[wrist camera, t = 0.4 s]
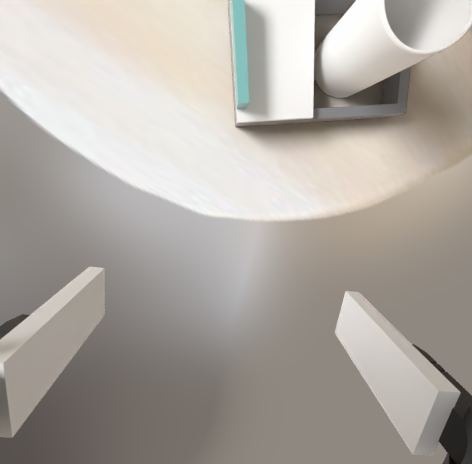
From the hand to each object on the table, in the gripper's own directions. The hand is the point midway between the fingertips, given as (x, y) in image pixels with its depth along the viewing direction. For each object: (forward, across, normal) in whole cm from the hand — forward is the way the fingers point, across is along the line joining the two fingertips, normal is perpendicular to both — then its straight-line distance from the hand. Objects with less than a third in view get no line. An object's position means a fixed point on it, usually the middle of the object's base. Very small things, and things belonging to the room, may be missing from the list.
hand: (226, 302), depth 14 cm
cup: (+27, +14, +22) cm, 37 cm away
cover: (+23, +4, +20) cm, 30 cm away
